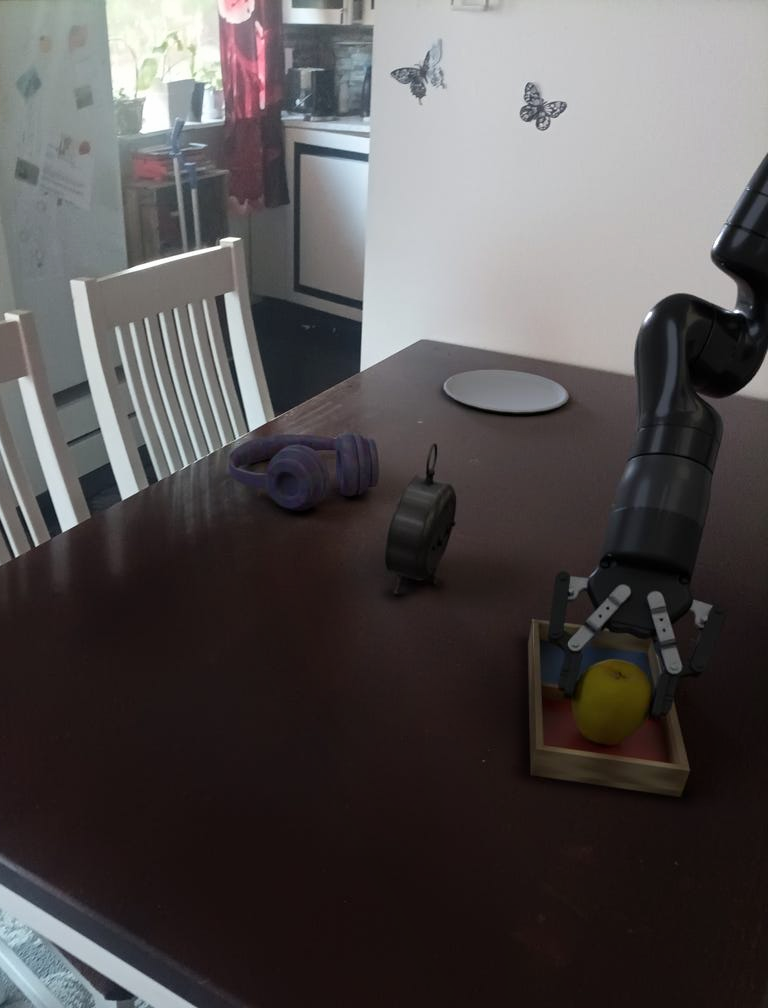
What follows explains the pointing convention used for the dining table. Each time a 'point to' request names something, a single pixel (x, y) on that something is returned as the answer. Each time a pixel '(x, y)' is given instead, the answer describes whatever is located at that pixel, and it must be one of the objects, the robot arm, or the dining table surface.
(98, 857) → the dining table surface
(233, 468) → the headphones
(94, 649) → the dining table surface
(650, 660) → the sorting tray
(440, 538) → the alarm clock
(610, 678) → the apple
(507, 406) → the plate
